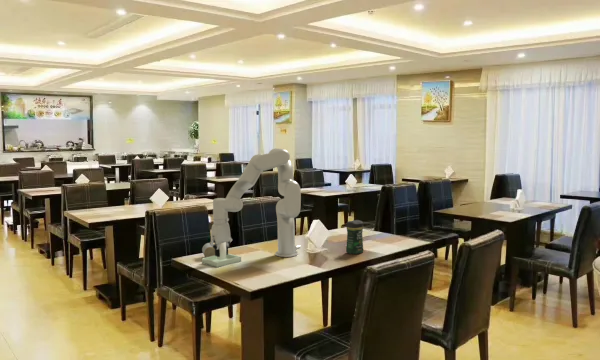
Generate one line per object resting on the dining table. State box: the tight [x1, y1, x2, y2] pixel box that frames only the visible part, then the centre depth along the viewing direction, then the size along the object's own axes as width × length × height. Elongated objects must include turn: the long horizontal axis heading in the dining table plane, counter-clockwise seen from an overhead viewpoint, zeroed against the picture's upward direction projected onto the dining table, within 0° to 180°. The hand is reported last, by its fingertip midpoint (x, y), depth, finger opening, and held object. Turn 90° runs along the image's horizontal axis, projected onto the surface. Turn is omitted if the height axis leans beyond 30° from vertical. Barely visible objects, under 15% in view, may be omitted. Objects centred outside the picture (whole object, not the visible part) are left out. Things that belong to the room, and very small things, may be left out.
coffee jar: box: [345, 219, 364, 255], centre depth 274 cm, size 10×8×19 cm
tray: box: [201, 253, 242, 268], centre depth 258 cm, size 16×13×3 cm
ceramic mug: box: [201, 242, 215, 258], centre depth 268 cm, size 11×8×8 cm
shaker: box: [217, 240, 226, 260], centre depth 257 cm, size 5×5×10 cm
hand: (221, 255), depth 258 cm, fingers closed on shaker, 4 cm apart
